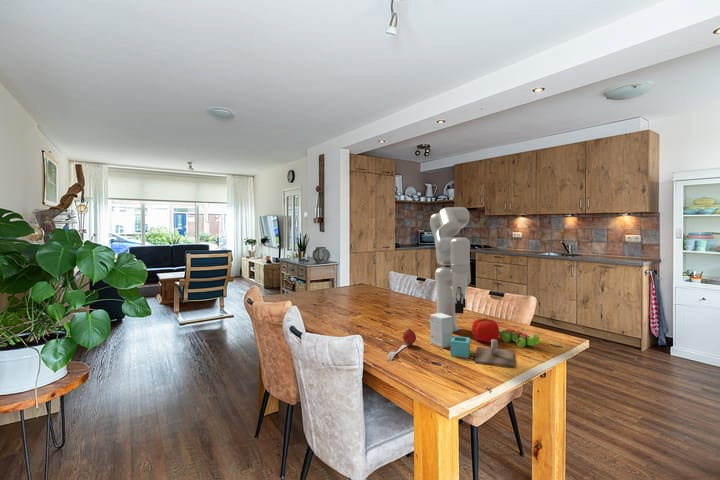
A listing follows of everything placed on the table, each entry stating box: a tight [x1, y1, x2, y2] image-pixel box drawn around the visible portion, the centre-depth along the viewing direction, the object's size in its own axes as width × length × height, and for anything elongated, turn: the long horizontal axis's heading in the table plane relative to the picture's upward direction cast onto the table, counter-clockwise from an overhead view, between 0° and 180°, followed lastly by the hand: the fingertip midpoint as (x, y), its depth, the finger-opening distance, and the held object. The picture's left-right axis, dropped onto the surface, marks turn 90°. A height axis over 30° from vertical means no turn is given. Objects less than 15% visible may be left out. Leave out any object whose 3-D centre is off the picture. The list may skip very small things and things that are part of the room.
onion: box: [402, 327, 417, 347], centre depth 152 cm, size 6×6×8 cm
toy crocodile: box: [498, 328, 540, 348], centre depth 154 cm, size 20×7×6 cm, turn 29°
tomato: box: [471, 317, 500, 343], centre depth 157 cm, size 12×12×10 cm
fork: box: [386, 344, 409, 362], centre depth 144 cm, size 3×21×3 cm, turn 153°
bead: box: [450, 335, 471, 359], centre depth 142 cm, size 7×7×6 cm
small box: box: [429, 312, 454, 349], centre depth 153 cm, size 8×6×13 cm
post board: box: [474, 339, 516, 369], centre depth 137 cm, size 14×16×7 cm
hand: (460, 310), depth 141 cm, fingers open, 9 cm apart
